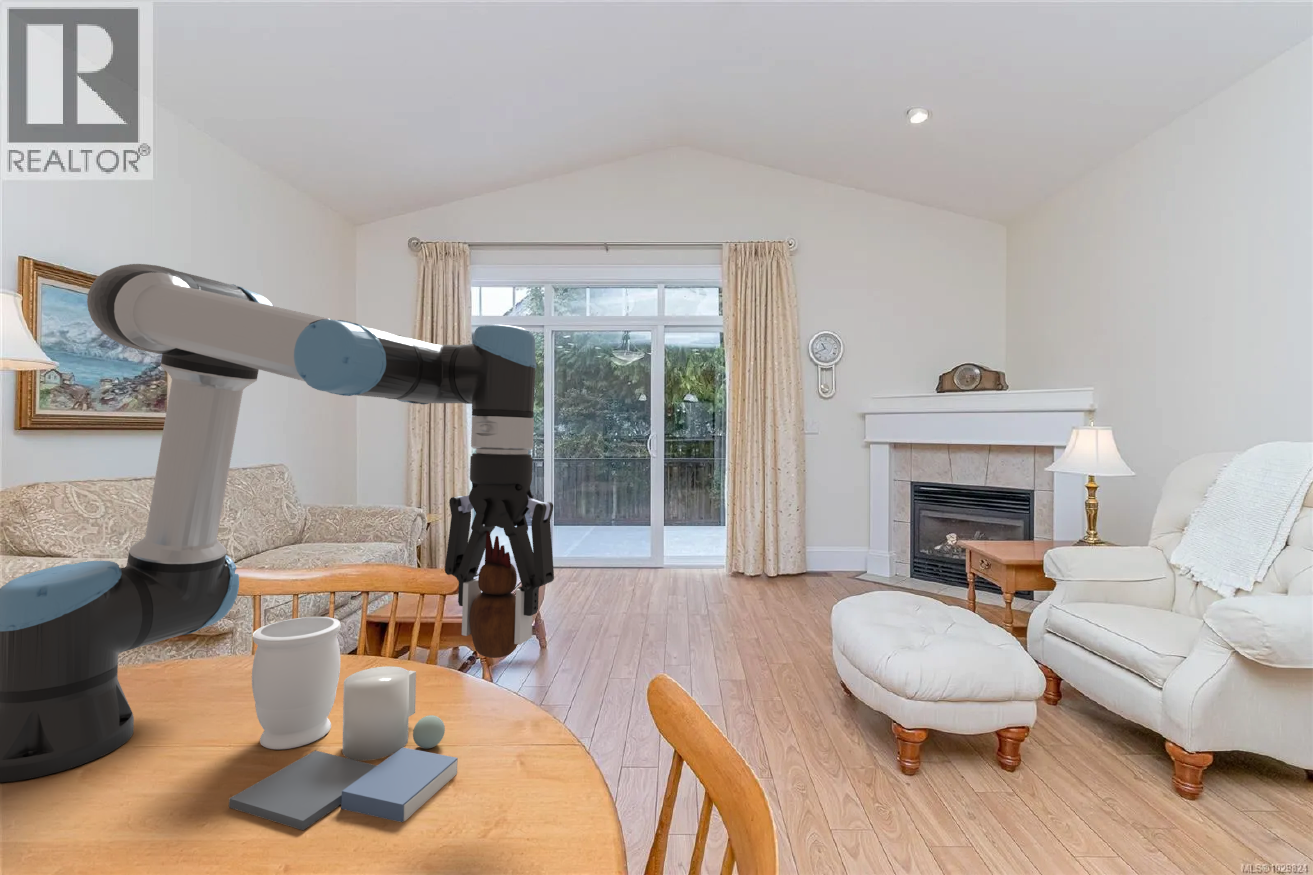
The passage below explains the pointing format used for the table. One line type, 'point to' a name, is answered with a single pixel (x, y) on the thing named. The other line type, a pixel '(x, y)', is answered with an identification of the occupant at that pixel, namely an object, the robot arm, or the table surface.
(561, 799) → the table surface
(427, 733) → the ball
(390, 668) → the mug
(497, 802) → the table surface
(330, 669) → the jar
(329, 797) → the coaster
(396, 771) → the book
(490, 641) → the wooden figurine
